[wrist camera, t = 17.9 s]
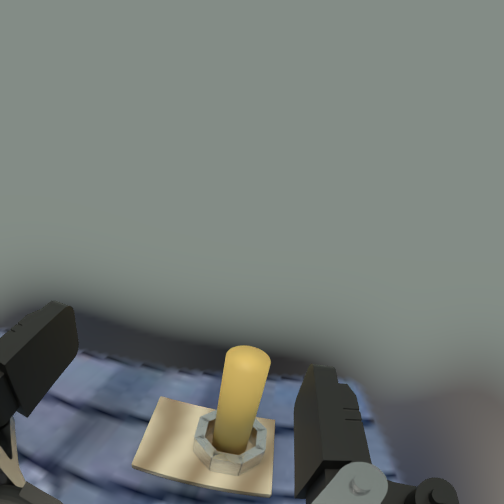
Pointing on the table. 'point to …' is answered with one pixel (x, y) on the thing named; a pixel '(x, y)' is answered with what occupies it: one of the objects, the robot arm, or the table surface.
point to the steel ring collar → (227, 461)
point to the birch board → (184, 459)
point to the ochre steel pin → (239, 398)
